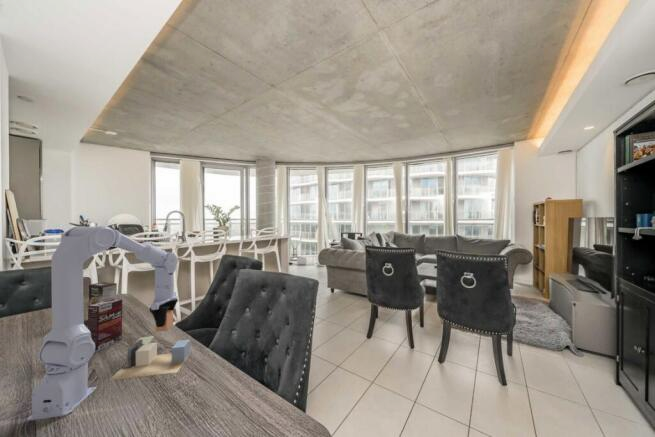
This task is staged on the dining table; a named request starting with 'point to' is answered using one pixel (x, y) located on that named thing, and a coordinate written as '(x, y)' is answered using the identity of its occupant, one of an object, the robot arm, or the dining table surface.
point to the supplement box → (105, 323)
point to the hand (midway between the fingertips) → (164, 323)
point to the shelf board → (151, 368)
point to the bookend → (132, 354)
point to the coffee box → (102, 292)
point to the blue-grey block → (180, 350)
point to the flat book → (146, 339)
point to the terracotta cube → (166, 322)
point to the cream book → (146, 354)
